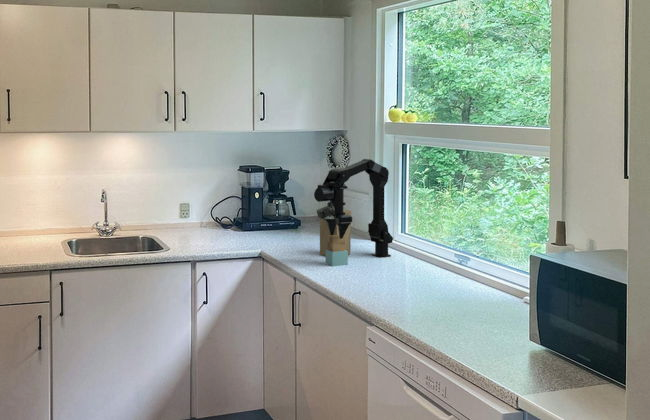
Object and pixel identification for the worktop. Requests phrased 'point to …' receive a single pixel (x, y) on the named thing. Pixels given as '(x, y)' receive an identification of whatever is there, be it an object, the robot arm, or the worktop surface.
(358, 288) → the worktop surface
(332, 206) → the robot arm
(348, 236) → the wooden block
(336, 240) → the walnut cube
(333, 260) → the teal block
